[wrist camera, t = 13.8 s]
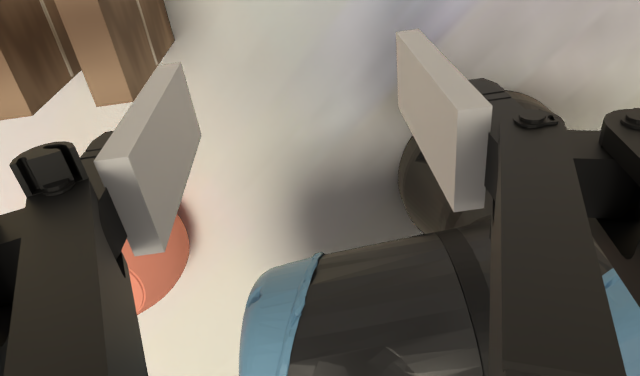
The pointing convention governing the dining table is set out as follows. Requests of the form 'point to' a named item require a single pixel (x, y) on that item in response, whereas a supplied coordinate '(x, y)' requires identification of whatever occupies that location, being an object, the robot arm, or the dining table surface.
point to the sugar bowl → (157, 268)
